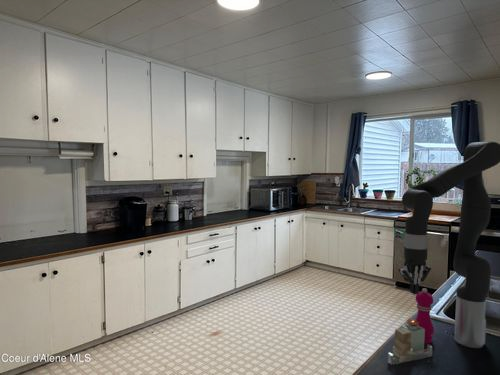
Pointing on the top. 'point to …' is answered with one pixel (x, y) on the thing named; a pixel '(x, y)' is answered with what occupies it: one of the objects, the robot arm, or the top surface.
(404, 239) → the robot arm
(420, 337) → the cabinet
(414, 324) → the plunger
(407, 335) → the carriage
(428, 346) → the rail
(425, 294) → the pepper mill
